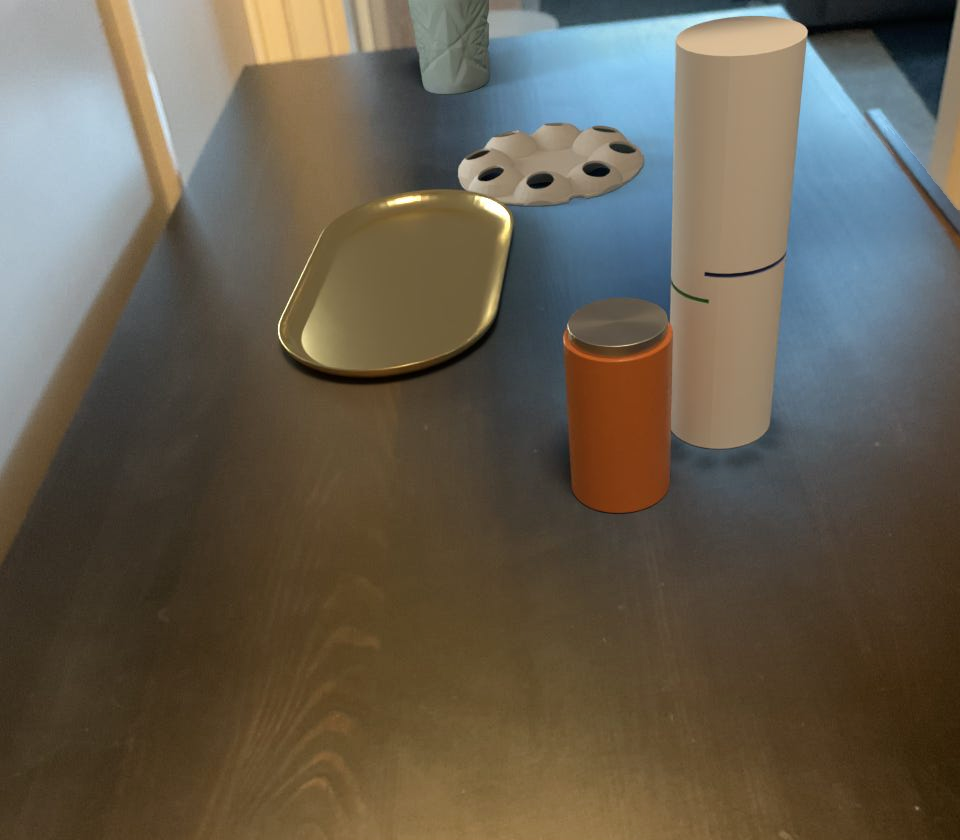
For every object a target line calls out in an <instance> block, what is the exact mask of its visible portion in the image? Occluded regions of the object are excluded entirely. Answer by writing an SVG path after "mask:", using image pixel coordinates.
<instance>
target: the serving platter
mask: <svg viewBox="0 0 960 840" xmlns="http://www.w3.org/2000/svg"><path fill="white" fill-rule="evenodd" d="M514 225H515V218H514V215H513V212H512V210H511V209H510V208H509V206H508V205H507V204H504V203H502V202H501V201H499V200H497V199H495V198H493V197H490V196H487V195H484V194H480V193H476V192H471V191H466V190H465V189H450V188H449V189H448V188H447V189H446V188H445V189H442V188H441V189H438V188H437V189H423V190H422V189H421V190H420V189H419V190H412V191H406V192H401V193H396V194H392V195H387V196H383V197H380V198H376V199H372V200H370V201H368V202H364V203H362V204H359V205H357V206H355V207H353V208H351V209H349V210H347V211H345V212H343V213H341V214H340V215H339V216H337V217H336V218H334V219H333V220H332V221H330V222H329V223H328V225H326V226H325V228H324V229H322V230H323V231H322V232H321V234H320V235H319V237H318V240H317V242H316V244H315V246H314V248H313V249H312V253H311V254H310V256H309V258H308V260H307V263H306V265H305V267H304V269H303V271H302V273H301V275H300V278H298V282H297V284H296V286H295V288H294V290H293V292H292V294H291V296H290V297H289V300H288V302H287V304H286V306H285V309H284V311H283V313H282V315H281V317H280V320H279V322H278V327H277V334H278V335H277V336H278V339H279V342H280V343H281V344H280V345H281V346H282V347H283V349H284V350H285V351H286V352H287V353H288V354H289V355H290V356H291V357H292V358H293V359H294V360H296V361H297V362H299V363H301V364H302V365H304V366H306V367H307V368H310V369H312V370H315V371H318V372H320V373H324V374H327V375H332V376H337V377H344V378H353V379H377V378H389V377H397V376H402V375H408V374H412V373H416V372H420V371H423V370H427V369H429V368H433V367H435V366H438V365H440V364H443V363H445V362H447V361H449V360H451V359H453V358H456V357H457V356H459V355H460V354H462V353H464V352H465V351H467V350H468V349H470V348H472V347H473V345H475V344H476V343H477V342H478V341H480V340H481V339H482V338H483V336H485V334H486V333H487V332H488V331H489V329H490V328H491V326H492V325H493V323H494V321H495V320H496V317H497V314H498V311H499V307H500V302H501V301H500V300H501V297H502V296H501V295H502V290H503V286H504V285H503V284H504V281H505V274H506V270H507V266H508V265H507V264H508V260H509V259H508V258H509V253H510V248H511V244H512V243H511V242H512V237H513V233H514V227H515V226H514Z"/></svg>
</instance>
